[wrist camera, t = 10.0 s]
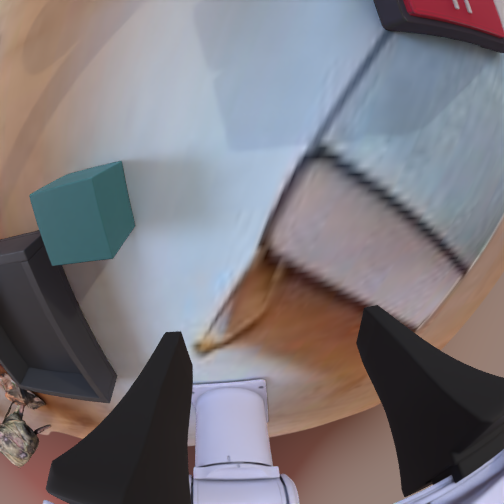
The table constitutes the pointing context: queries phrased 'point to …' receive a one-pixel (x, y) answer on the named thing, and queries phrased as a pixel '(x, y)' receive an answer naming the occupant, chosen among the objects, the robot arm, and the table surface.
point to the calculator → (447, 19)
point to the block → (84, 214)
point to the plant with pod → (18, 424)
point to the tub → (46, 327)
